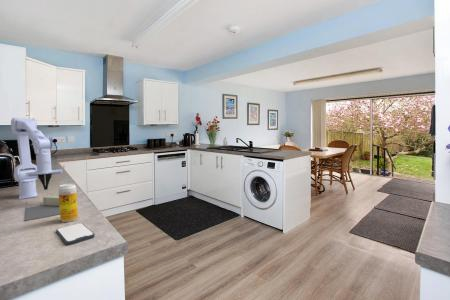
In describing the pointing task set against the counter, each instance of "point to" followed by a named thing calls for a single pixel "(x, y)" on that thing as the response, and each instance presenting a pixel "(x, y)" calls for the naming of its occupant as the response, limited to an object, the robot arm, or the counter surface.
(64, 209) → the beer can
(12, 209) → the counter surface
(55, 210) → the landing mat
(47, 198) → the skincare box
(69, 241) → the phone case
